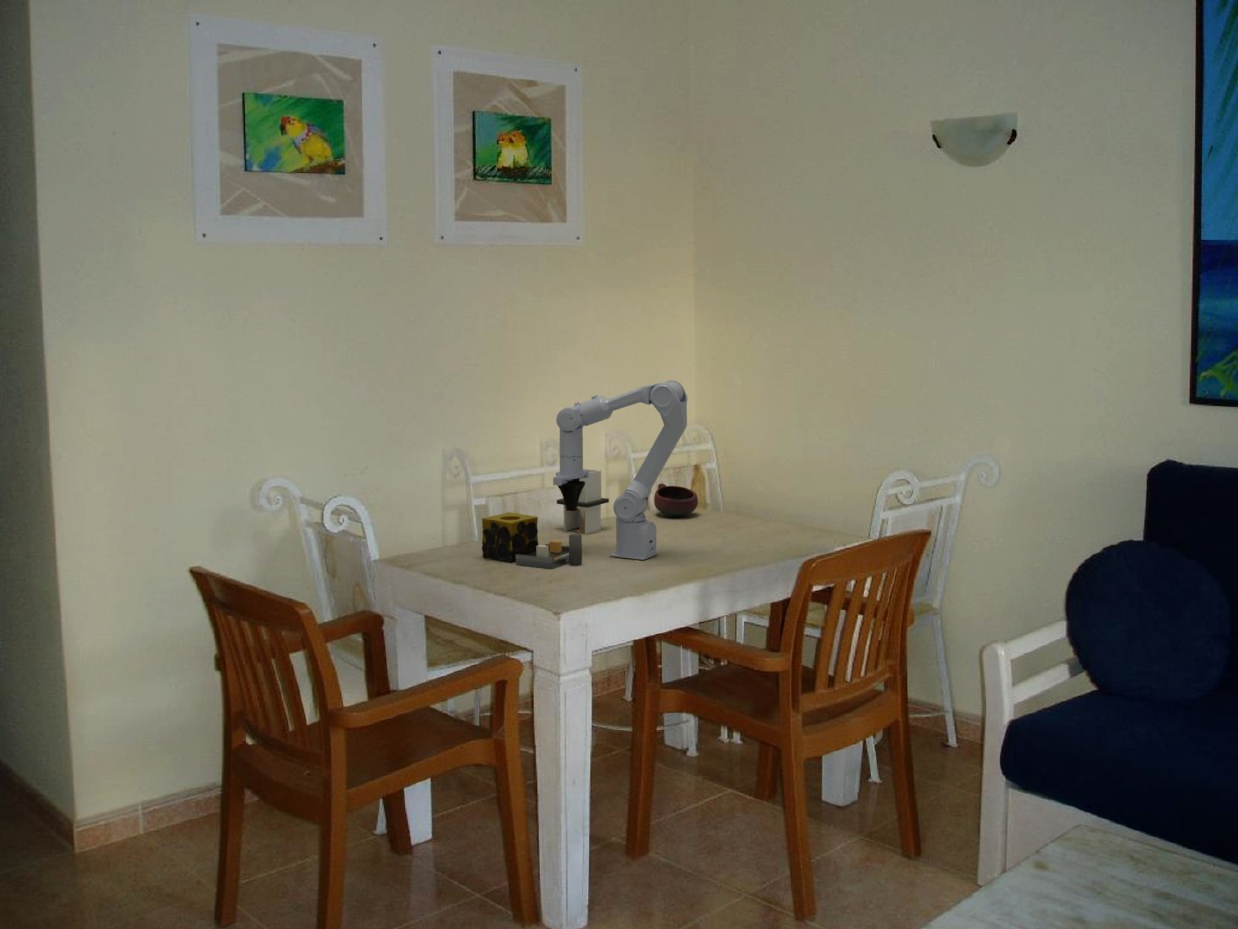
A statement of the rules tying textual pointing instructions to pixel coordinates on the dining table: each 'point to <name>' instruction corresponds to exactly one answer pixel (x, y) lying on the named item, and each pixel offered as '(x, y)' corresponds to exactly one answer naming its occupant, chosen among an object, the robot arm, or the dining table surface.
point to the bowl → (675, 500)
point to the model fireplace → (586, 506)
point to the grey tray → (544, 559)
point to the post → (575, 549)
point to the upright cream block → (542, 550)
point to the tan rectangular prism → (555, 546)
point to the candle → (509, 536)
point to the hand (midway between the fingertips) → (571, 510)
